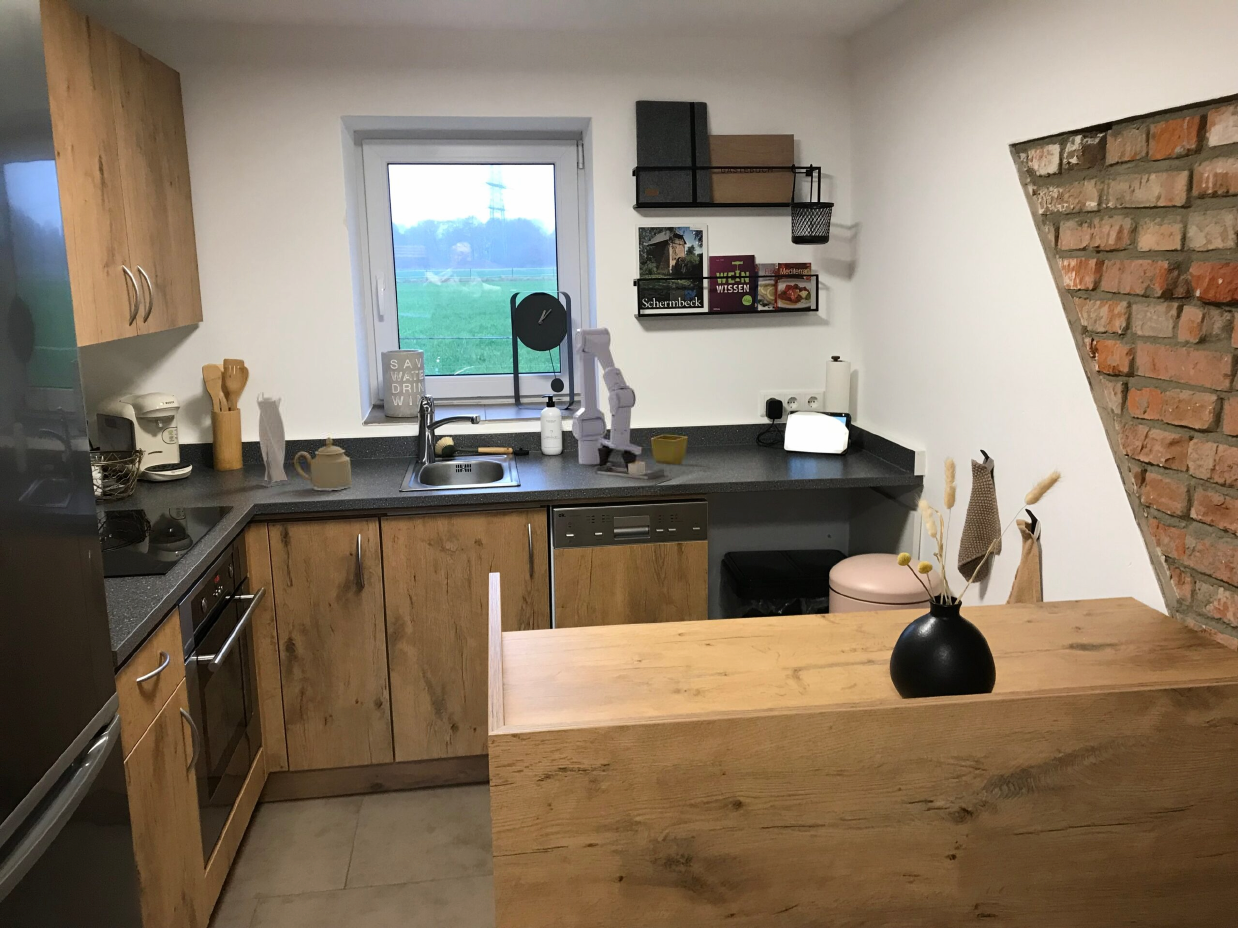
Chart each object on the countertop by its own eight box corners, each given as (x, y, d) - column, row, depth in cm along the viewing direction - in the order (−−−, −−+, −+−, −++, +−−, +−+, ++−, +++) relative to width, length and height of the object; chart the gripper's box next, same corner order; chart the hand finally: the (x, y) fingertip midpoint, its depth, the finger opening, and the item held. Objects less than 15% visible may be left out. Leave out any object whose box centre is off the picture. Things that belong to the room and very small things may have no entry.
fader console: (605, 472, 298) (605, 462, 297) (671, 479, 284) (671, 469, 283) (587, 477, 290) (587, 466, 290) (654, 485, 277) (654, 474, 276)
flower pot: (688, 464, 308) (688, 436, 306) (675, 468, 301) (674, 440, 299) (664, 462, 313) (664, 434, 311) (650, 466, 306) (650, 438, 304)
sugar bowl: (303, 494, 275) (299, 442, 272) (295, 488, 284) (291, 437, 282) (356, 488, 282) (352, 437, 279) (346, 482, 291) (343, 433, 289)
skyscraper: (255, 485, 292) (247, 392, 287) (280, 480, 298) (272, 390, 293) (269, 488, 287) (261, 394, 281) (294, 484, 292) (286, 391, 287)
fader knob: (636, 473, 288) (636, 461, 287) (645, 473, 286) (644, 461, 285) (628, 475, 284) (628, 463, 284) (636, 476, 283) (636, 464, 282)
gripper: (592, 426, 287) (590, 471, 290) (632, 435, 279) (630, 480, 282) (606, 423, 292) (604, 466, 296) (646, 431, 284) (643, 476, 288)
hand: (618, 473), depth 289 cm, fingers closed, pressing on fader console
